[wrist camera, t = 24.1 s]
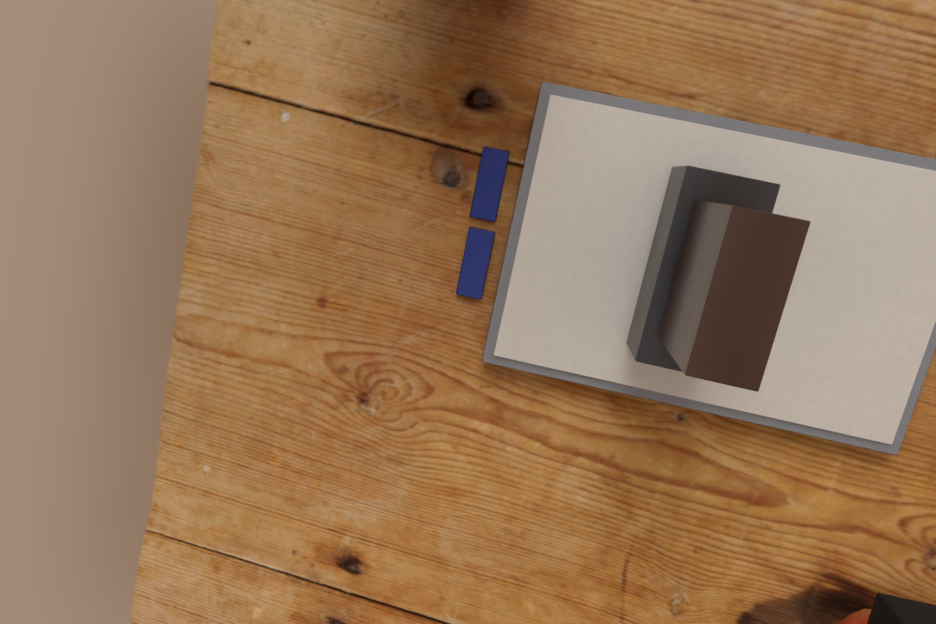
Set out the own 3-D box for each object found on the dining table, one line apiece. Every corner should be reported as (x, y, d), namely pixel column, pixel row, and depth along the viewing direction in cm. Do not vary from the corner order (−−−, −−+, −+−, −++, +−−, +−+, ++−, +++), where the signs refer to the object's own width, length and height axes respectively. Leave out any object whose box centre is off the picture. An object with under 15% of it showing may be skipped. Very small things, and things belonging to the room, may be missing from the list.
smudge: (494, 232, 40) (495, 232, 40) (469, 227, 40) (470, 226, 40) (480, 299, 40) (481, 298, 41) (455, 294, 41) (456, 293, 41)
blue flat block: (509, 151, 39) (509, 151, 39) (483, 146, 39) (483, 146, 39) (495, 221, 40) (495, 221, 40) (469, 216, 40) (470, 216, 40)
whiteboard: (483, 357, 41) (481, 362, 40) (541, 83, 38) (541, 80, 37) (888, 449, 40) (899, 457, 39) (987, 171, 36) (1001, 171, 35)
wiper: (625, 343, 39) (656, 405, 28) (671, 166, 37) (724, 161, 26) (704, 360, 39) (766, 430, 28) (756, 183, 37) (843, 186, 26)
